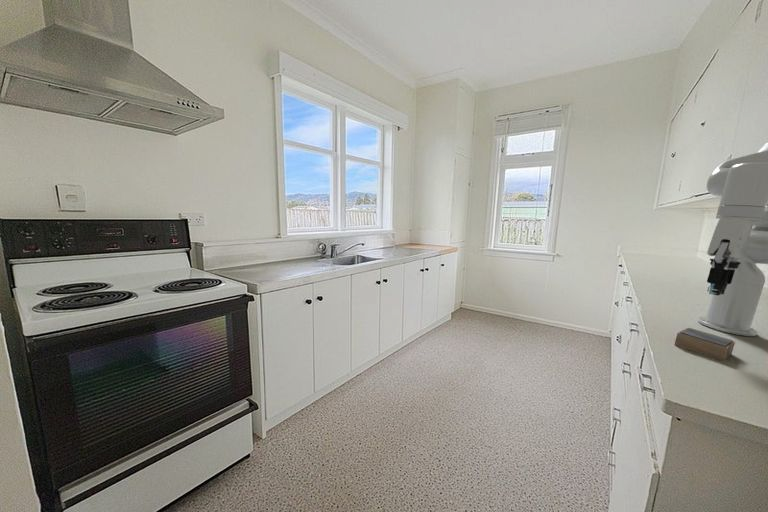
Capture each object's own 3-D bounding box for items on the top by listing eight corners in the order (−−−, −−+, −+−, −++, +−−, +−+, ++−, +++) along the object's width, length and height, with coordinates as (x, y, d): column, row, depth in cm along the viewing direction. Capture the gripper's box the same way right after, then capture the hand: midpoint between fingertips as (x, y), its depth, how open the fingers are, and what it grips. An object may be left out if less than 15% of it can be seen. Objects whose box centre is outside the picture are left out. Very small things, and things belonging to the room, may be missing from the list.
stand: (684, 339, 84) (687, 326, 84) (731, 354, 77) (735, 340, 76) (674, 344, 80) (677, 331, 80) (722, 361, 73) (727, 346, 72)
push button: (726, 298, 74) (738, 259, 72) (697, 292, 78) (707, 255, 77) (732, 295, 78) (744, 258, 76) (703, 289, 82) (713, 254, 80)
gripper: (726, 214, 82) (708, 278, 85) (707, 210, 73) (688, 281, 77) (769, 217, 76) (748, 285, 79) (754, 212, 67) (731, 289, 70)
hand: (718, 282), depth 78 cm, fingers closed on push button, 4 cm apart
